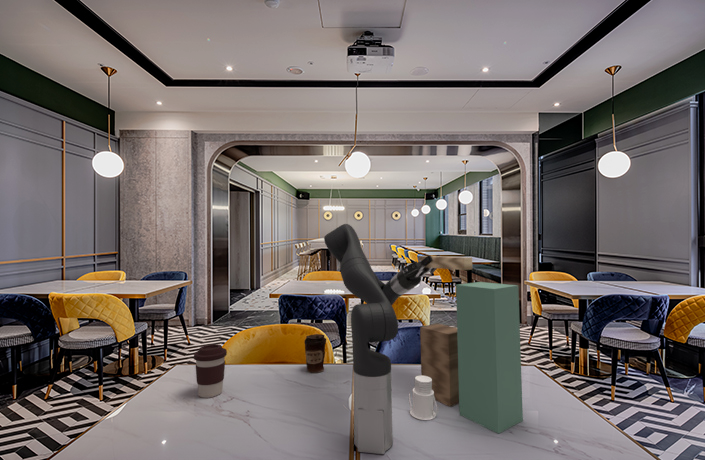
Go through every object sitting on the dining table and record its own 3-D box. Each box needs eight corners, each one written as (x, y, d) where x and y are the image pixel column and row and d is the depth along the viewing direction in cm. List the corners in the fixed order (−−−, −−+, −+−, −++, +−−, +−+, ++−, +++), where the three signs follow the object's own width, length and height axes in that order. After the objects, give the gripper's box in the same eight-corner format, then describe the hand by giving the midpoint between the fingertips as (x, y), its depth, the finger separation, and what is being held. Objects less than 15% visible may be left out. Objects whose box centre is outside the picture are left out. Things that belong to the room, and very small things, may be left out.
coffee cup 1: (204, 403, 106) (204, 353, 107) (187, 395, 112) (187, 348, 113) (232, 391, 114) (232, 345, 115) (215, 384, 120) (216, 341, 121)
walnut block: (467, 399, 106) (465, 330, 107) (450, 406, 101) (448, 334, 102) (438, 387, 115) (437, 323, 116) (421, 393, 111) (420, 326, 112)
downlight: (404, 416, 96) (405, 380, 96) (412, 405, 102) (413, 371, 102) (433, 424, 92) (434, 386, 93) (440, 412, 99) (440, 377, 99)
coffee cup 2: (325, 374, 128) (324, 339, 128) (302, 374, 128) (302, 339, 128) (327, 366, 137) (327, 332, 137) (306, 366, 137) (306, 333, 137)
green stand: (522, 420, 93) (518, 285, 94) (498, 433, 87) (494, 289, 88) (483, 403, 103) (480, 281, 104) (459, 414, 97) (455, 284, 98)
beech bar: (472, 269, 102) (472, 257, 102) (464, 269, 100) (464, 257, 101) (426, 266, 118) (425, 256, 118) (418, 266, 116) (418, 256, 117)
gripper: (423, 288, 127) (455, 266, 114) (393, 291, 119) (423, 269, 107) (416, 270, 130) (445, 247, 118) (386, 272, 122) (415, 247, 110)
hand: (435, 257), depth 112 cm, fingers closed on beech bar, 3 cm apart
